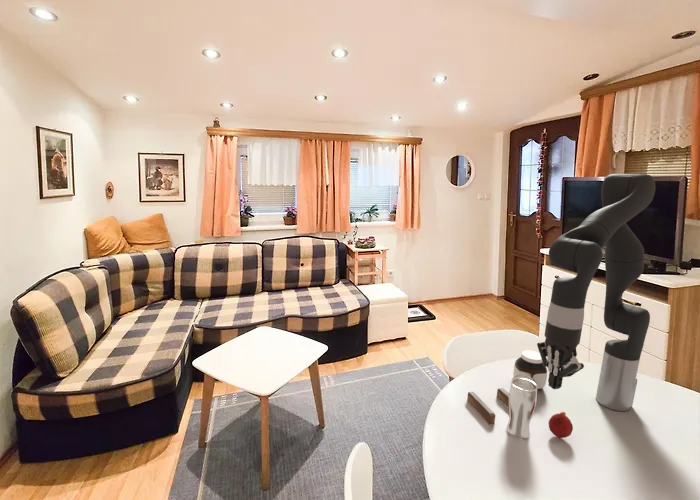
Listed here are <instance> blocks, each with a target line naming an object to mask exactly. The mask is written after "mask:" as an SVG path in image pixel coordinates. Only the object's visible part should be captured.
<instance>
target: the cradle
mask: <svg viewBox="0 0 700 500" xmlns="http://www.w3.org/2000/svg"><path fill="white" fill-rule="evenodd" d="M496 391H497V393H496V398H497V399H499V401H500V402H502V404H503V405H505V407H507V408H508V409H509V392H508V391H507V390H506V389H505V388H503V387H501V388H497V390H496ZM466 401H467V402H468V404H469V405H471V407H472V408H473V409H474V410H475V411H476V412H477V413H478V415H479V416H480V417H481V418H482V419H483V420H484V421H485V423H487V424H488V425H489V426H490V425H495V421H496V414H495V412H494V411H493V410H492V409H491V408H490V407H489V406H488V405H487V404H486V403H485V402H484V401H483V400H482V398H480V397H479V396H478V395H477V394H476V393H475V392H474V391H469V392H467V398H466Z"/></svg>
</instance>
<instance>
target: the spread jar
mask: <svg viewBox="0 0 700 500" xmlns="http://www.w3.org/2000/svg"><path fill="white" fill-rule="evenodd" d="M512 374H513V377H512V379H511V381H512V380H513V379H515V378H524V379H527V380H530V381H532V382H534V383H535V384H536V385H537V392H538V391H541V390H542V389H544V388H545V386H546V384H547V379H548V367H545V366H544V364H543V361H542V358H541V355H540V352H539V351H535V350H523V351H522V352H521V356H520V357H518V358H517V359H516V360H515V362H514V365H513V373H512Z"/></svg>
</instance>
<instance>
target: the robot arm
mask: <svg viewBox="0 0 700 500" xmlns="http://www.w3.org/2000/svg"><path fill="white" fill-rule="evenodd" d="M600 191H601V193H600V194H601V207H602V208H600V209H597V210H595V211H593V212H592V213H590V214H589V215H588V216H587V217H586V218H585V219H584V220H583V221H582V222H581V223H580V224H579V225H578V227H575V228H573V229H571V230H569V231H568V232H566V233H563V234H561V235H560V236H559V237H557V238H556V239H554V241H553V242H552V244H551V245H550V247H549V250H548V258H549V261H550V262H551V264H553V265H554V266H556V267H558V268H563V269H568V270H571V271H572V270H573V271H577V274H576V276H575V277H558V278H556V279H554V282H553V284H552V290H551V291H552V292H551V297H550V303H549V306H548V309H547V315H546V316H547V317H546V323H545V328H544V337H545V340H544V341H541V342H537V343H536V345H537V349H538V353H540V355H541V358H542V361H543V364H544V366H545V367H546V368H547V372H549V374H548V378H547V379H548V381H547V383H548V387H550V388H551V389H552V390H558V389H560V388H562V386H563V385H562V384H563V378H569V377H572V376H573V375H575V374H576V373H578V372H580V371H581V370H583V369H584V367H585V365H584V363H583V362H579V359H578V358H577V355H578V352H577V347H578V345H579V344H580V343H581V337H582V332H583V331H582V330H583V325H584V320H585V319H584V318H585V304H586V298H587V295H588V294H587V293H588V291H589V290H588V289H589V287H590V285H591V282H592V280H593V278H594V276H595V274H596V272H597V270H598V269H599V267H600V265H601V263H602V260H603V257H604V263H605V264H604V267H605V297H604V299H605V301H604V309H603V322H604V326H605V327H606V328H607V329H609V330H611V331H613V332H617V333H619V334H622V335H626V336H628V338H627V339H610V340H607V341H606V342H605V346H604V349H603V356H602V362H601V366H600V373H599V378H598V384H597V387H596V388H597V389H596V393H595V394H596V395H595V401H597V402H598V403H599V404H600V405H601V406H602V407H605V408H606V409H610V410H613V411H617V412H628V411H629V410H630V408H632V407H633V404H634V401H635V400H634V399H635V395H636V394H635V393H636V391H637V390H636V389H637V385H638V379H637V376H638V375H637V374H638V370H639V369H638V368H639V365H640V360H641V355H642V352H643V349H644V345H645V342H646V341H645V340H646V336H647V333H648V330H649V326H650V322H651V321H650V320H651V314H650V312H649V310H648V309H645V308H643V307H639V306H635V305H631V304H628V303H624V302H623V293H625V292H626V290H627V289H628V288H629V287H630V286H631V285H632V284H633V283H635V282H636V281H637V280H638V279H639V278H640V277H641V276H642V274H643V272H644V268H645V248H644V246H643V244H642V243H641V241H640V240H639V238H638V237H637V236H636V234H635V233H634V232H633V231H632V229H631V228H630V227H629V225H628V224H627V223H628V222H629V221H630V220H632V219H633V218H634V217H635V218H636V216H637V215H639V214H640V213H641V212H643V211H644V210H645V209H647V207H649V205H650V204H651V203H652V202H653V200H654V196H655V194H656V180H655V178H654V177H653V176H652V175H650V174H647V173H611V174H608V175H607V176H606V177H604V179H603V182H602V186H601V190H600ZM603 247H605V249H604V254H603V250H602V248H603Z"/></svg>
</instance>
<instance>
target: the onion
mask: <svg viewBox="0 0 700 500" xmlns="http://www.w3.org/2000/svg"><path fill="white" fill-rule="evenodd" d="M566 414H567V413H566V412H565V411H561V412H560V413H555V414H553V415H552V416H551V417H550V418H549V420H548V428H549V431H550V432H551V434H553V436H555V437H556V438H558V439H564V438H568V437H570V436H571V435H572V432H573V431H574V430H573V429H574V426H573V423H572V421H571V419H570V418H569V417H568V416H566Z"/></svg>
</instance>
